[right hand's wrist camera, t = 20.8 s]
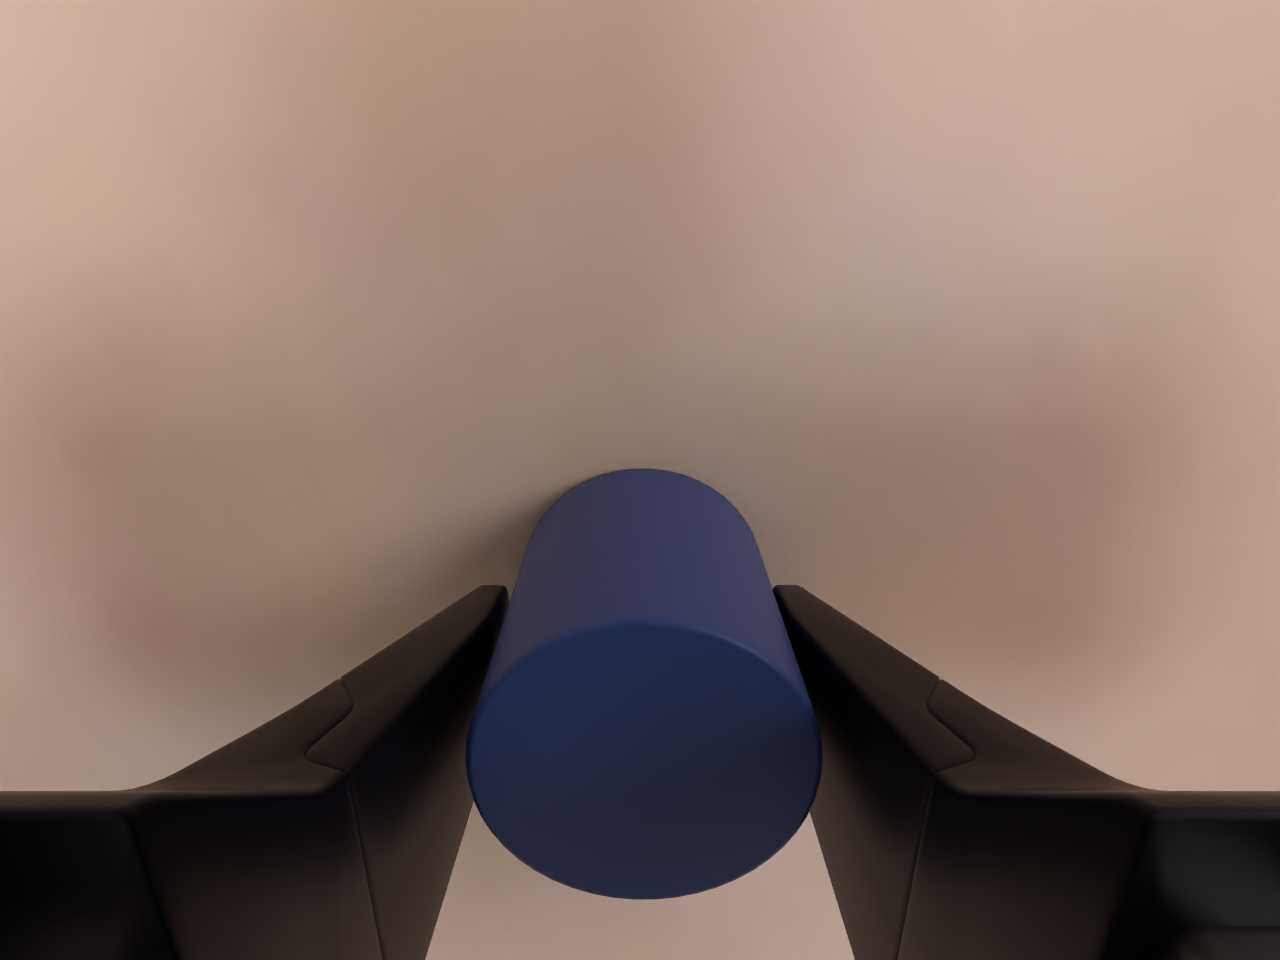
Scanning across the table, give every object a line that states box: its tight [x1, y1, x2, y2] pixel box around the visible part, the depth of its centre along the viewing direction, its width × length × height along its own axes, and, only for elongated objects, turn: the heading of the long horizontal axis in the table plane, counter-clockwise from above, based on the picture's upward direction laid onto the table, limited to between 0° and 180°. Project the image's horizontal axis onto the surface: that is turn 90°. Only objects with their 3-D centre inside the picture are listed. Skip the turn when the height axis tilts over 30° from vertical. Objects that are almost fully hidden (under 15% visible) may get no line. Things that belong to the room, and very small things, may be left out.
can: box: [465, 469, 823, 899], centre depth 10 cm, size 4×4×5 cm
